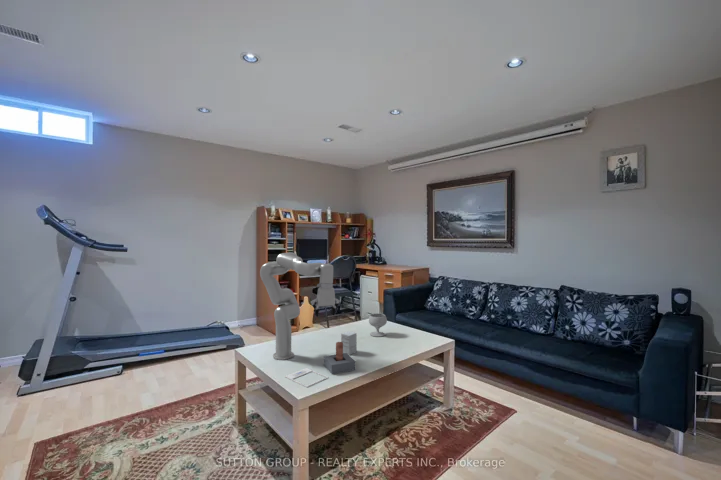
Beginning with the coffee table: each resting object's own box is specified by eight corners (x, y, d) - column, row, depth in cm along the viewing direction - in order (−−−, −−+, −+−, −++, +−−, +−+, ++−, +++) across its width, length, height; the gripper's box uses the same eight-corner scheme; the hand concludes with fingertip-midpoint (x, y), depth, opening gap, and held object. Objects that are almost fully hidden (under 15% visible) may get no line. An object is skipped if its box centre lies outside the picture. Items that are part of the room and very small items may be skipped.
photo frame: (306, 367, 178) (328, 376, 166) (306, 369, 178) (328, 378, 166) (284, 375, 167) (306, 386, 155) (284, 378, 167) (306, 388, 155)
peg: (334, 366, 181) (334, 342, 181) (341, 365, 183) (341, 341, 183) (337, 369, 178) (337, 344, 178) (343, 368, 179) (343, 343, 179)
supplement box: (348, 349, 209) (348, 330, 209) (356, 352, 205) (356, 332, 205) (340, 352, 204) (340, 333, 204) (349, 355, 199) (349, 335, 199)
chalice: (367, 332, 249) (367, 313, 249) (384, 331, 251) (384, 312, 251) (370, 337, 235) (370, 317, 235) (388, 337, 238) (389, 317, 238)
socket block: (323, 364, 184) (323, 356, 184) (346, 361, 189) (346, 352, 189) (331, 374, 171) (331, 365, 171) (355, 370, 177) (355, 361, 177)
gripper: (313, 287, 174) (312, 318, 174) (342, 286, 181) (341, 315, 182) (309, 285, 181) (308, 314, 181) (337, 284, 188) (336, 312, 188)
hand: (324, 315), depth 181 cm, fingers open, 9 cm apart
